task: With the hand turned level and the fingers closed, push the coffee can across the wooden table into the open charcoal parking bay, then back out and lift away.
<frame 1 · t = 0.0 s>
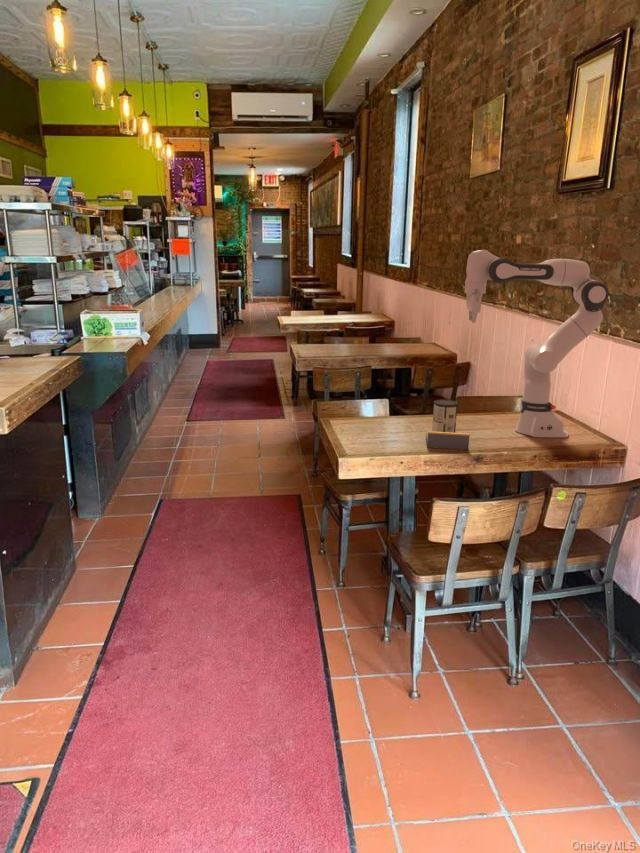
hand: (472, 321, 272), 48 cm above the table, tool pointing down, fingers open, 8 cm apart
parking bay: (446, 443, 260), on the table
coffee can: (443, 433, 275), on the table
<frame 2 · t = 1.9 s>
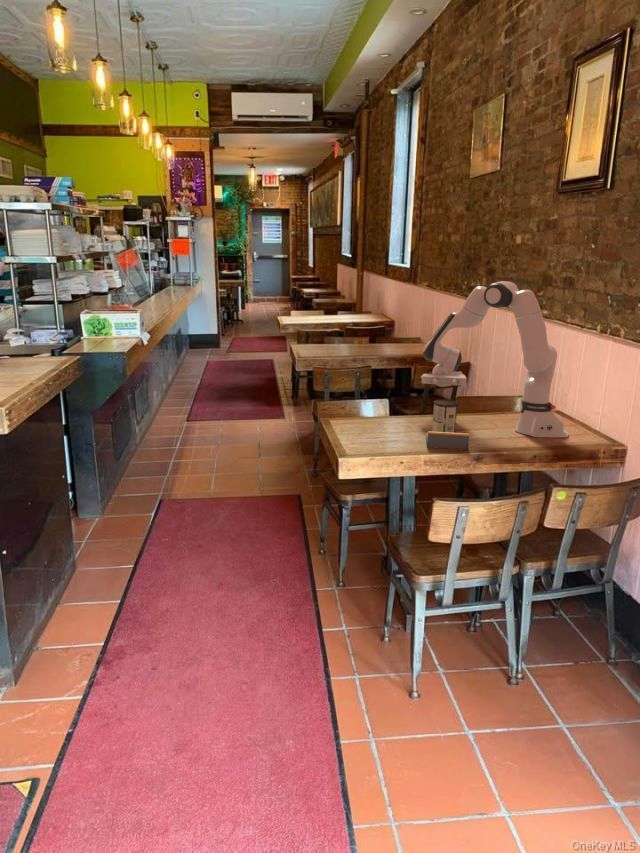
hand: (445, 383, 281), 20 cm above the table, tool horizontal, fingers open, 5 cm apart
nothing on the table moved.
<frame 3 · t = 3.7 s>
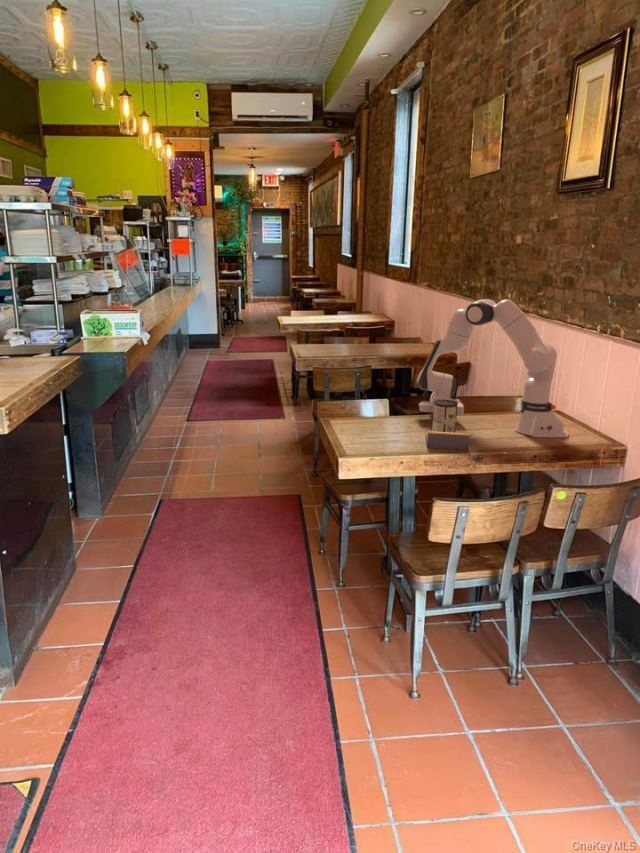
hand: (442, 411, 283), 7 cm above the table, tool horizontal, fingers closed
nothing on the table moved.
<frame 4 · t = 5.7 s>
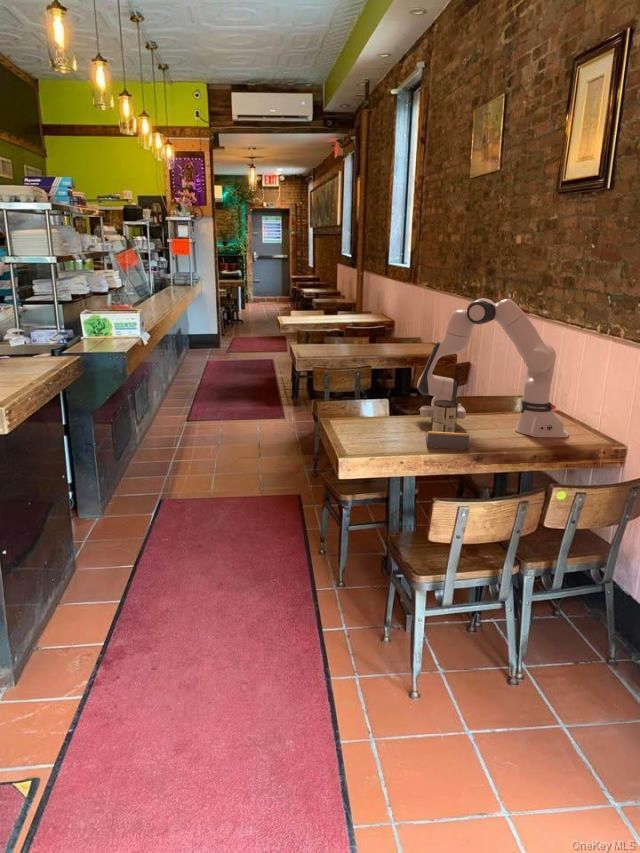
hand: (443, 416, 277), 6 cm above the table, tool horizontal, fingers closed, pressing on coffee can
coffee can: (443, 434, 274), on the table, touching gripper
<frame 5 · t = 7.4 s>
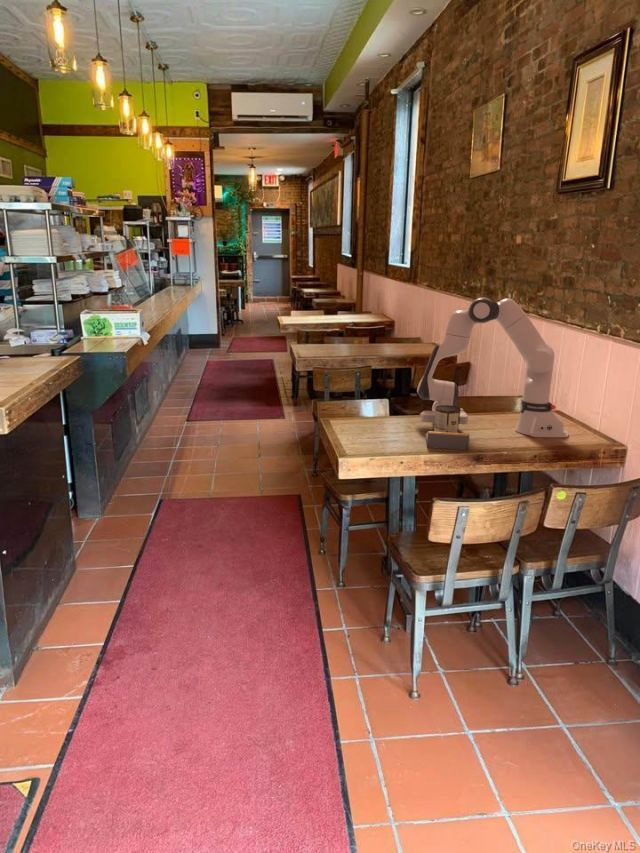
hand: (445, 422, 268), 7 cm above the table, tool horizontal, fingers closed, pressing on coffee can
coffee can: (445, 440, 265), on the table, touching gripper
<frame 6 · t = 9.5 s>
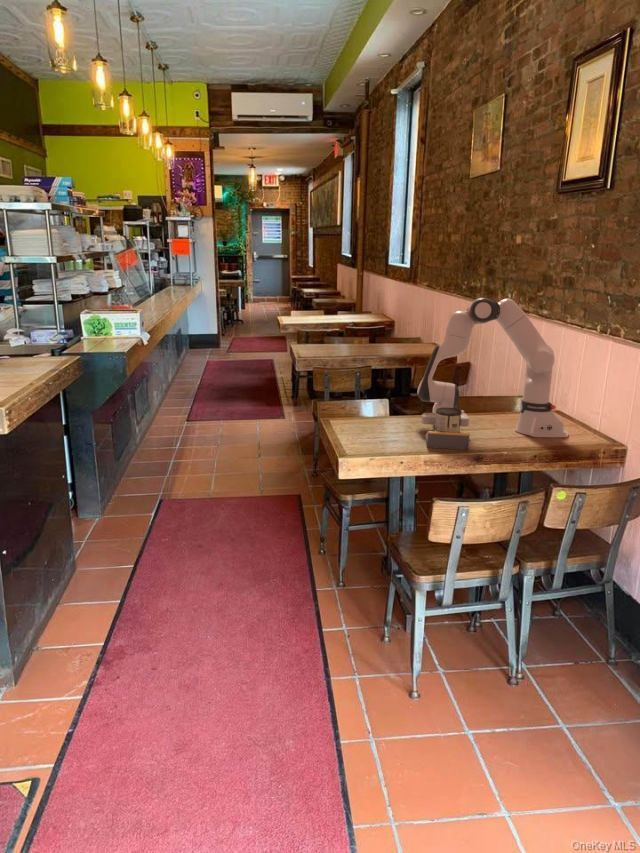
hand: (446, 424, 265), 6 cm above the table, tool horizontal, fingers closed
coffee can: (445, 443, 261), on the table
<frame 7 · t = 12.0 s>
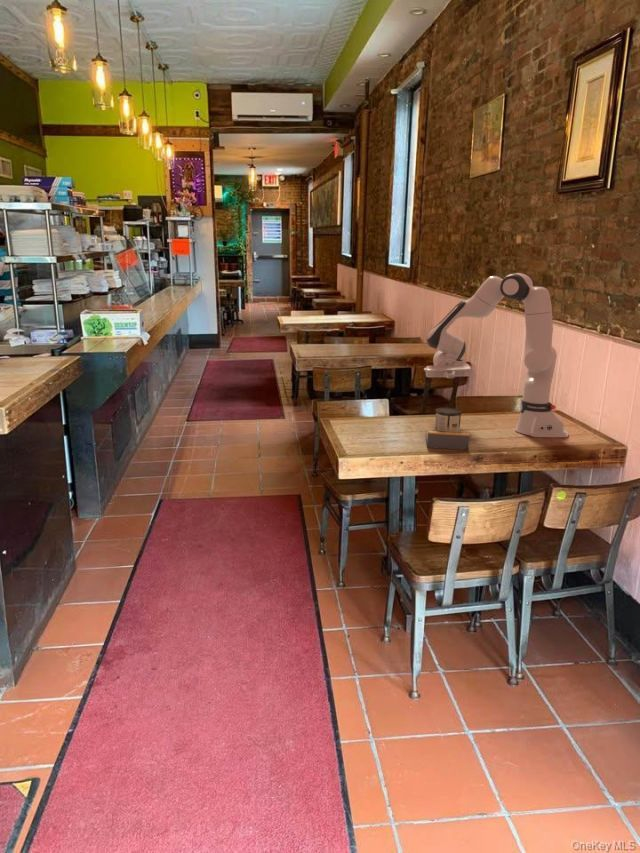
hand: (450, 376, 276), 24 cm above the table, tool horizontal, fingers closed
nothing on the table moved.
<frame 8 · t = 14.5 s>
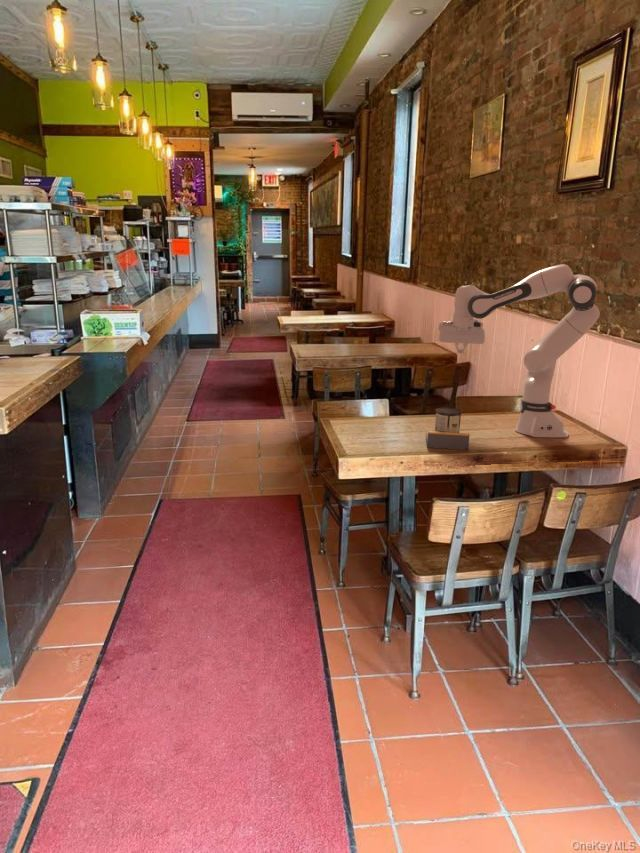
hand: (460, 353, 282), 33 cm above the table, tool pointing down, fingers closed
nothing on the table moved.
at the end: coffee can inside the target area (1.9 cm from its centre), on the table; coffee can tilted 0°; the gripper is holding nothing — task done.
